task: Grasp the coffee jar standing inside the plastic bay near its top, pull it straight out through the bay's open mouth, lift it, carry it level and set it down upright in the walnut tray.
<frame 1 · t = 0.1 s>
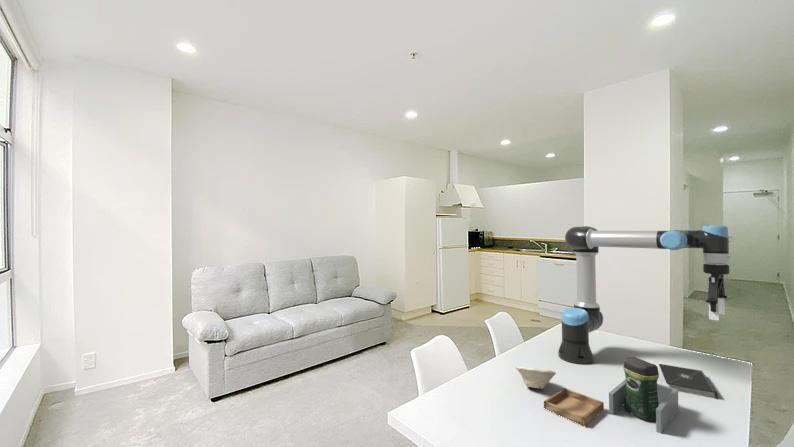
hand: (717, 316, 132), 28 cm above the table, fingers open, 13 cm apart
coffee jar: (641, 414, 113), resting in bay
book: (685, 384, 136), on the table
tray: (573, 409, 117), on the table
bowl: (535, 387, 133), on the table
bay: (643, 412, 115), on the table
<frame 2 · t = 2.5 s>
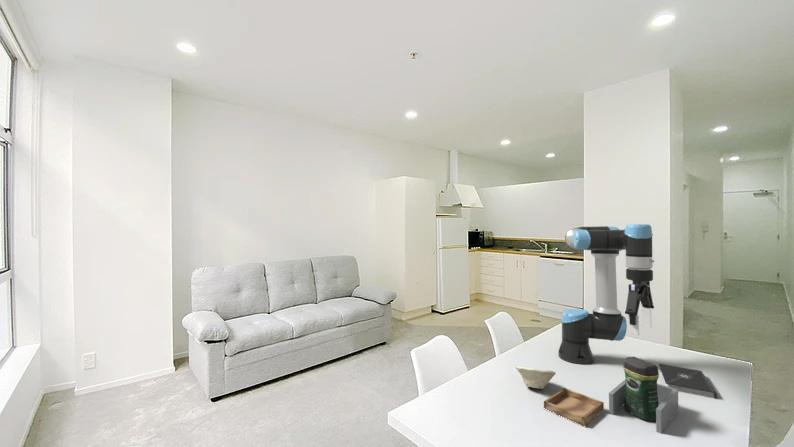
hand: (640, 330, 114), 29 cm above the table, fingers open, 13 cm apart
nothing on the table moved.
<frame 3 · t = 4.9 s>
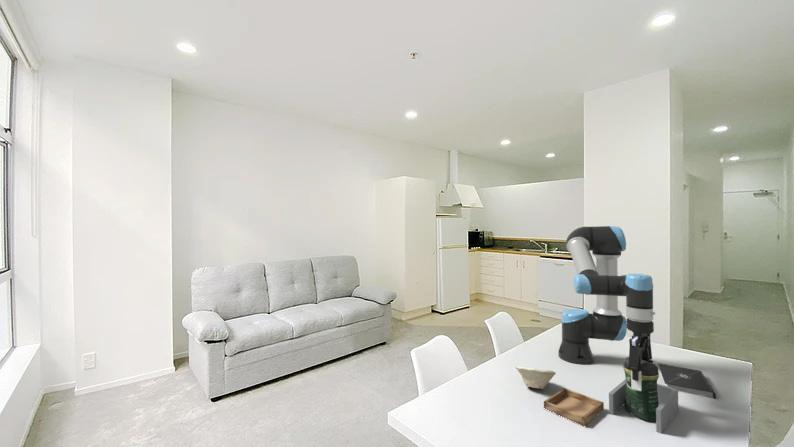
hand: (641, 385, 113), 10 cm above the table, fingers closed on coffee jar, 9 cm apart
coffee jar: (641, 414, 113), resting in bay, touching gripper
everything else where it was.
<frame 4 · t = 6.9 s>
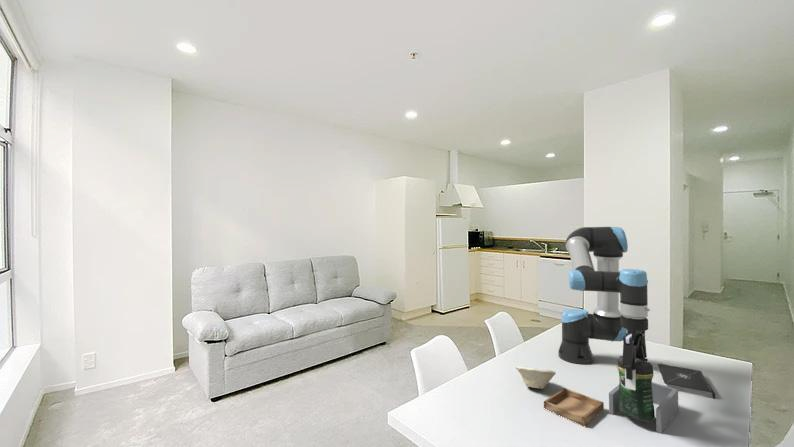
hand: (635, 384, 110), 12 cm above the table, fingers closed on coffee jar, 9 cm apart
coffee jar: (636, 414, 110), point 2 cm above the table, touching gripper
everything else where it was.
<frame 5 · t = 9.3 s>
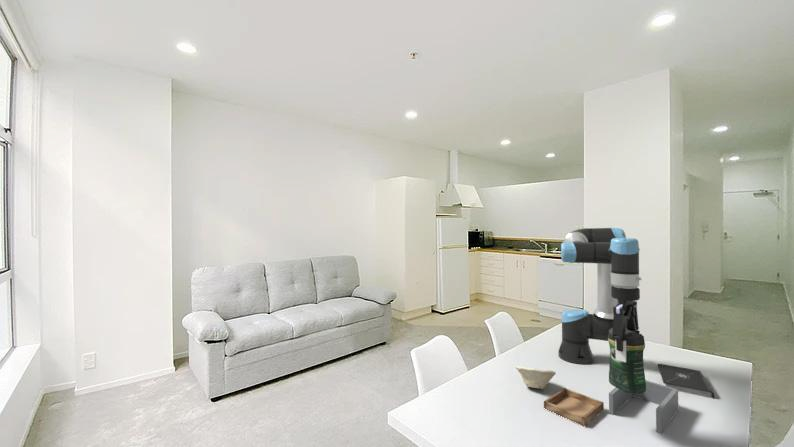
hand: (626, 356, 106), 23 cm above the table, fingers closed on coffee jar, 9 cm apart
coffee jar: (626, 388, 106), point 13 cm above the table, touching gripper
everything else where it was.
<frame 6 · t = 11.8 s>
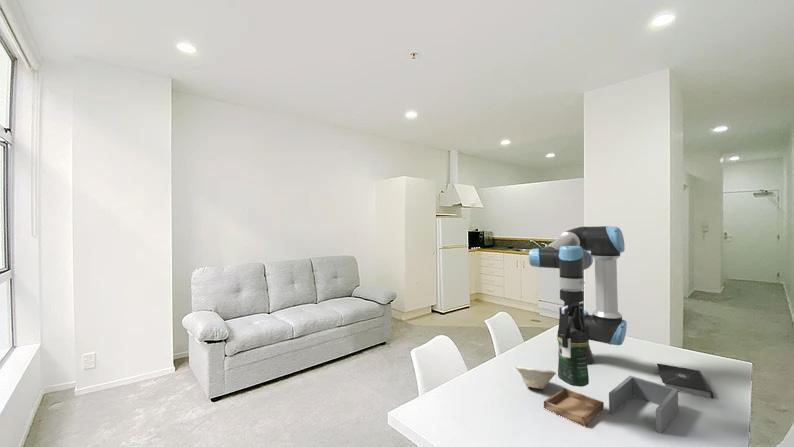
hand: (572, 353, 117), 20 cm above the table, fingers closed on coffee jar, 9 cm apart
coffee jar: (573, 381, 117), point 10 cm above the table, touching gripper
everything else where it was.
when the fingers open (12 cm above the table, at t = 13.7 s): coffee jar drops 1 cm, resting on tray.
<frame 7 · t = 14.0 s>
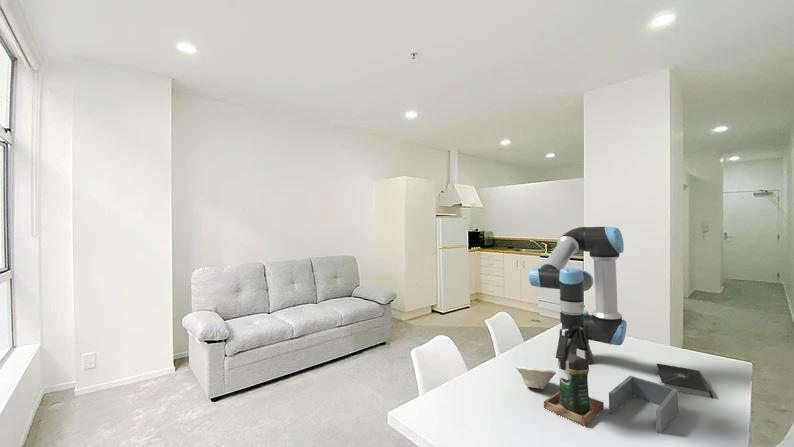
hand: (573, 373, 117), 13 cm above the table, fingers open, 12 cm apart
coffee jar: (574, 408, 117), resting on tray
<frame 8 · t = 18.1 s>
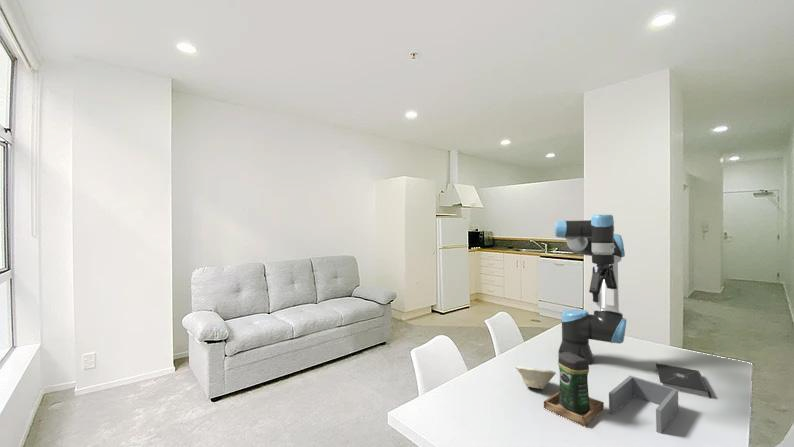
hand: (603, 307, 130), 33 cm above the table, fingers open, 13 cm apart
at the end: coffee jar inside the target area on the tray (0.4 cm from its centre), point 0.4 cm above the tray's base; coffee jar tilted 0°; the gripper is holding nothing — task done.
